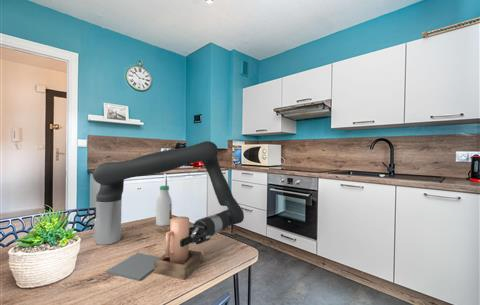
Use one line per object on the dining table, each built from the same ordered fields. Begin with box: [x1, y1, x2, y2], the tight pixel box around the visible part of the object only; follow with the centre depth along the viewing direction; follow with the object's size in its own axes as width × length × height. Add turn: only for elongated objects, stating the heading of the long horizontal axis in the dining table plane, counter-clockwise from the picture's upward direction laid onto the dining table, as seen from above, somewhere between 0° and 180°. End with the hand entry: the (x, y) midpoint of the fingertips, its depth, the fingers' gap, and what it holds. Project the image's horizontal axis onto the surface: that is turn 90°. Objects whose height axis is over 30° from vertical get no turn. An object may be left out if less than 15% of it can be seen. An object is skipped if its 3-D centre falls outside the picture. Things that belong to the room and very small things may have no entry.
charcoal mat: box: [105, 252, 160, 282], centre depth 72 cm, size 13×13×1 cm
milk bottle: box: [155, 185, 173, 227], centre depth 114 cm, size 8×8×20 cm
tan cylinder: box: [165, 216, 190, 265], centre depth 70 cm, size 8×6×16 cm
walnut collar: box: [153, 249, 203, 280], centre depth 71 cm, size 11×11×4 cm
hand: (174, 241), depth 69 cm, fingers closed on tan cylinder, 6 cm apart
